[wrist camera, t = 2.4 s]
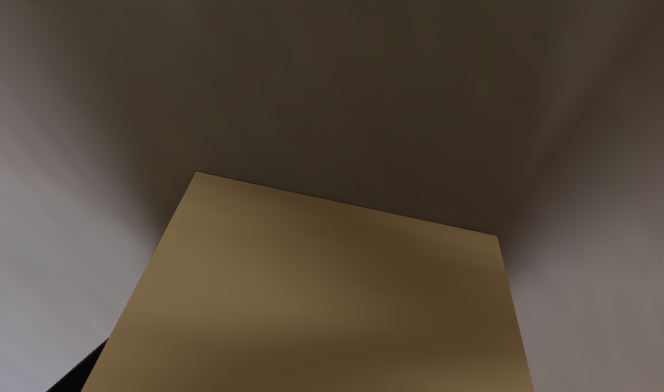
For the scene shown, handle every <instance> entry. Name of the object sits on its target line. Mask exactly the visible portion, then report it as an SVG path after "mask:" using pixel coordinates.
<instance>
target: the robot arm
mask: <svg viewBox="0 0 664 392" xmlns="http://www.w3.org/2000/svg"><path fill="white" fill-rule="evenodd" d="M108 339H109V338H108ZM108 339H107V340H105V341H104V342H103V343H102V344H101V345H100V346H98V347H97V348H96V349H95V350H94V351H93V352H92V353H90V354H89V355H88V356H87V357H86V358H85V359H83V360H82V361H81V362H80V363H79V364H78V365H76V366H75V367H74V368H73V369H72V370H71V371H70V372H68V373H67V374H66V375H65V376H64V377H63V378H61V379H60V380H59V381H58V382H57V383H56V384H54V385H53V386H52V387H51V388H50V389H49V390H48V391H46V392H81V391H82V389H83V387H84V385H85V383H86V381H87V379H88V377H89V375H90V373H91V372H92V370H93V368H94V366H95V364H96V362H97V360H98V358H99V356H100V354H101V352H102V351H103V349H104V347H105V345H106V343H107V341H108Z"/></svg>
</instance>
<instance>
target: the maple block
mask: <svg viewBox="0 0 664 392" xmlns="http://www.w3.org/2000/svg"><path fill="white" fill-rule="evenodd" d="M81 392H534V389H533V384H532V380H531V376H530V372H529V368H528V363H527V359H526V355H525V351H524V347H523V342H522V338H521V334H520V330H519V326H518V322H517V317H516V313H515V309H514V305H513V301H512V296H511V292H510V288H509V284H508V280H507V275H506V271H505V267H504V263H503V259H502V254H501V250H500V246H499V242H498V238H497V236H495V235H490V234H486V233H481V232H476V231H471V230H467V229H462V228H457V227H453V226H448V225H443V224H439V223H434V222H429V221H425V220H420V219H415V218H411V217H406V216H401V215H397V214H392V213H387V212H383V211H378V210H373V209H368V208H364V207H359V206H354V205H350V204H345V203H340V202H336V201H331V200H326V199H322V198H317V197H312V196H308V195H303V194H298V193H294V192H289V191H284V190H280V189H275V188H270V187H265V186H261V185H256V184H251V183H247V182H242V181H237V180H233V179H228V178H223V177H219V176H214V175H209V174H205V173H200V172H196V173H195V175H194V177H193V179H192V181H191V183H190V184H189V186H188V188H187V190H186V192H185V194H184V196H183V198H182V200H181V202H180V204H179V205H178V207H177V209H176V211H175V213H174V215H173V217H172V219H171V221H170V223H169V225H168V226H167V228H166V230H165V232H164V234H163V236H162V238H161V240H160V242H159V244H158V246H157V247H156V249H155V251H154V253H153V255H152V257H151V259H150V261H149V263H148V265H147V267H146V268H145V270H144V272H143V274H142V276H141V278H140V280H139V282H138V284H137V286H136V288H135V289H134V291H133V293H132V295H131V297H130V299H129V301H128V303H127V305H126V307H125V309H124V310H123V312H122V314H121V316H120V318H119V320H118V322H117V324H116V326H115V328H114V330H113V331H112V333H111V335H110V337H109V339H108V341H107V343H106V345H105V347H104V349H103V351H102V352H101V354H100V356H99V358H98V360H97V362H96V364H95V366H94V368H93V370H92V372H91V373H90V375H89V377H88V379H87V381H86V383H85V385H84V387H83V389H82V391H81Z"/></svg>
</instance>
